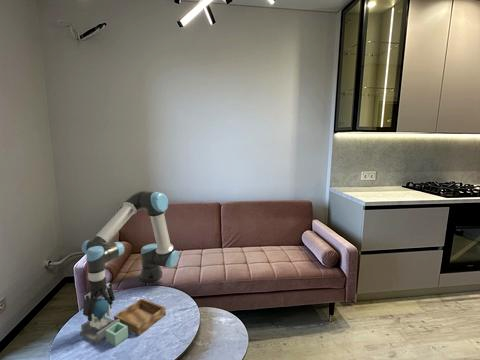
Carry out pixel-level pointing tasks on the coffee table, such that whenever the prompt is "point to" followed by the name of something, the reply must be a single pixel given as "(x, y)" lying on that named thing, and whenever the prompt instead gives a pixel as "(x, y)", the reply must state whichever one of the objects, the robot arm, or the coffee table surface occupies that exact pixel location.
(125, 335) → the cup
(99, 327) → the checker plate
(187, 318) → the coffee table surface
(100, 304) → the light bulb
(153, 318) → the tray
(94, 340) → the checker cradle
